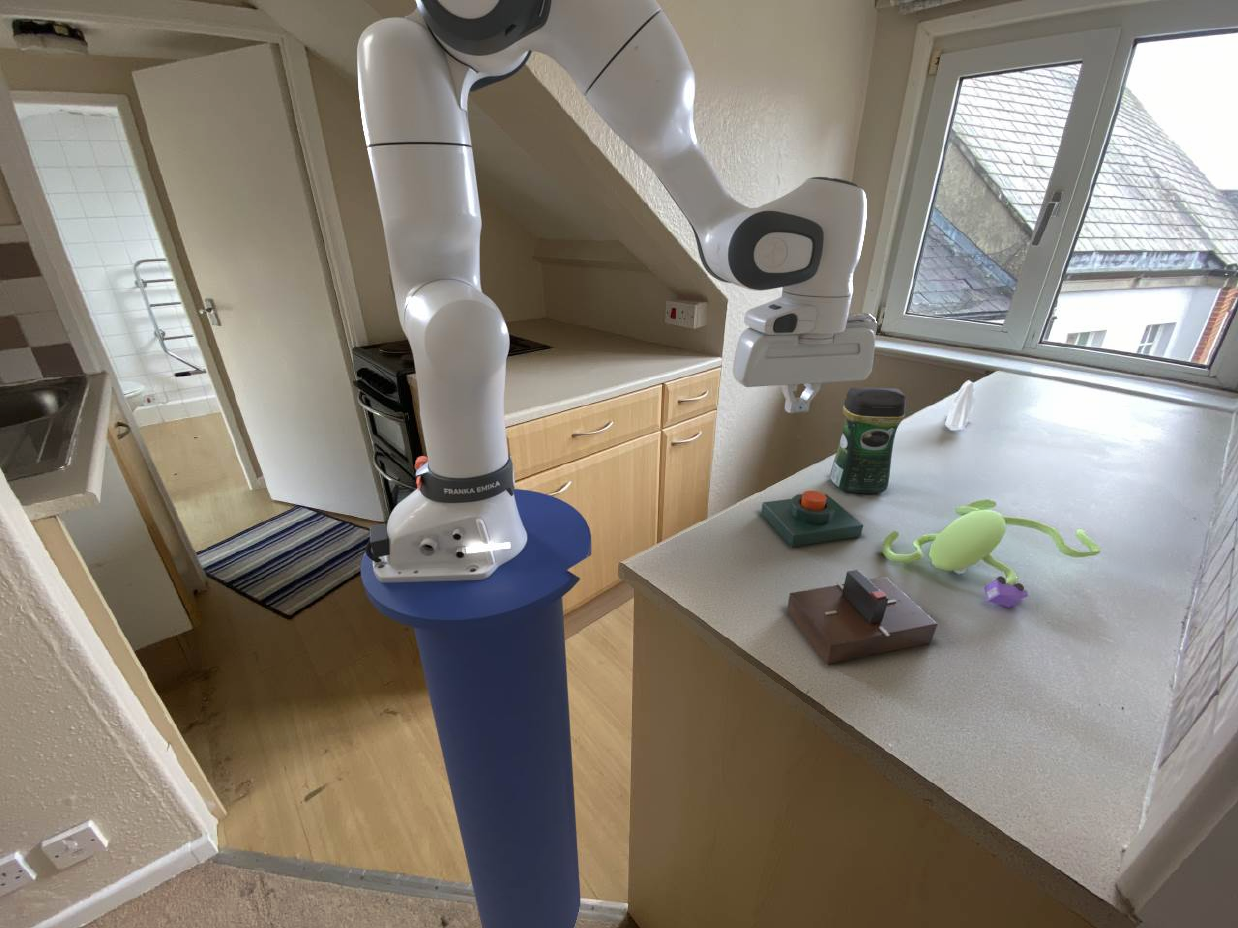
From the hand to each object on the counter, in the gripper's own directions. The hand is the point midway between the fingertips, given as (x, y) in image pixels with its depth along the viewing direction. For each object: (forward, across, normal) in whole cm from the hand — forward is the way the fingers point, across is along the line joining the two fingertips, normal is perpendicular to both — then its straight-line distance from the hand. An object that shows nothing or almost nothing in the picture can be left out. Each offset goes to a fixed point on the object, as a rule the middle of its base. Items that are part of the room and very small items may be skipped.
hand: (796, 411), depth 77 cm
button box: (+20, -5, +1) cm, 20 cm away
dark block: (+17, +2, +23) cm, 29 cm away
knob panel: (+20, +2, +23) cm, 30 cm away
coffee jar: (+19, -21, -9) cm, 30 cm away
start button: (+16, -5, +1) cm, 17 cm away
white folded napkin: (+19, -62, -29) cm, 71 cm away
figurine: (+19, -25, +15) cm, 35 cm away
